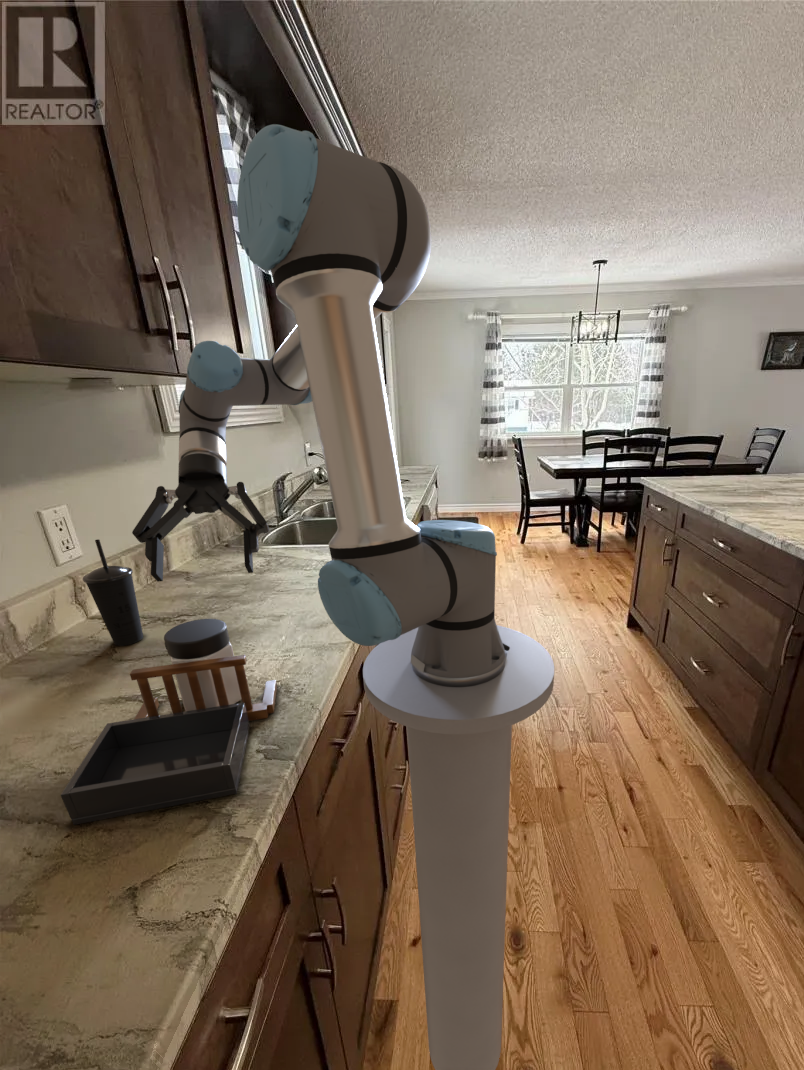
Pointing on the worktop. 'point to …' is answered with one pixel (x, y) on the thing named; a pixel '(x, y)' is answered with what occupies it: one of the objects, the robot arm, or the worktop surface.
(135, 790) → the rectangular tray
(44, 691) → the worktop surface
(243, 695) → the drying rack
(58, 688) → the worktop surface
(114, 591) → the drinking cup
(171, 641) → the jar
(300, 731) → the worktop surface
